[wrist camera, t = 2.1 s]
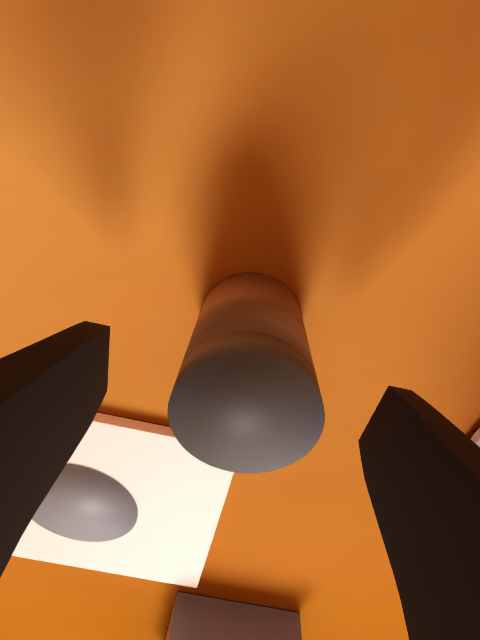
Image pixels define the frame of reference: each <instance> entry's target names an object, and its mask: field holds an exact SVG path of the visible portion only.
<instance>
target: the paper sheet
mask: <svg viewBox="0 0 480 640" xmlns="http://www.w3.org/2000/svg"><path fill="white" fill-rule="evenodd" d="M233 473H234V472H229V471H225V470H221V469H218V468H215V467H212V466H210V465H208V464H206V463H204V462H202V461H200V460H198V459H197V458H195V457H194V456H192V455H191V454H190V453H189V452H187V451H186V450H185V449H184V448H183V447H182V446H181V444H180V443H179V442H178V441H177V439H176V437H175V436H174V434H173V432H172V430H171V428H170V427H166V426H161V425H156V424H151V423H147V422H142V421H137V420H132V419H127V418H122V417H117V416H112V415H107V414H102V413H96V415H95V418H94V420H93V422H92V424H91V426H90V427H89V429H88V431H87V432H86V434H85V435H84V437H83V439H82V440H81V442H80V443H79V445H78V447H77V448H76V450H75V451H74V453H73V455H72V456H71V458H70V459H69V461H68V462H67V464H66V466H65V467H64V469H63V470H62V472H61V473H60V475H59V477H58V478H57V480H56V481H55V483H54V484H53V486H52V488H51V489H50V491H49V492H48V494H47V495H46V497H45V499H44V500H43V502H42V503H41V505H40V506H39V508H38V510H37V511H36V513H35V514H34V516H33V518H32V519H31V521H30V523H29V525H28V526H27V528H26V530H25V531H24V533H23V535H22V537H21V539H20V541H19V542H18V544H17V546H16V548H15V550H14V552H13V554H12V556H17V557H23V558H29V559H34V560H40V561H46V562H51V563H57V564H63V565H68V566H74V567H80V568H86V569H91V570H97V571H103V572H108V573H114V574H120V575H125V576H131V577H137V578H142V579H148V580H154V581H160V582H165V583H171V584H177V585H182V586H188V587H194V588H197V586H198V583H199V580H200V576H201V573H202V570H203V567H204V564H205V561H206V558H207V555H208V551H209V548H210V545H211V542H212V539H213V536H214V533H215V529H216V526H217V523H218V520H219V517H220V514H221V511H222V508H223V504H224V501H225V498H226V495H227V492H228V489H229V486H230V483H231V479H232V476H233Z"/></svg>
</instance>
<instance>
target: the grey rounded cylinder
mask: <svg viewBox="0 0 480 640" xmlns="http://www.w3.org/2000/svg"><path fill="white" fill-rule="evenodd" d="M168 420H169V424H170V428H171V430H172V432H173V434H174V436H175V437H176V439H177V441H178V442H179V443H180V444H181V446H182V447H183V448H184V449H185V450H186V451H187V452H189V453H190V454H191V455H192V456H194V457H195V458H197V459H198V460H200V461H202V462H204V463H206V464H208V465H210V466H212V467H215V468H218V469H221V470H225V471H229V472H236V473H263V472H269V471H274V470H277V469H280V468H283V467H286V466H288V465H290V464H292V463H294V462H296V461H298V460H299V459H301V458H302V457H303V456H305V455H306V454H307V453H308V452H309V451H310V450H311V449H312V448H313V447H314V445H315V444H316V443H317V441H318V439H319V438H320V436H321V433H322V431H323V427H324V422H325V412H324V406H323V402H322V398H321V393H320V389H319V385H318V381H317V377H316V373H315V368H314V364H313V360H312V356H311V352H310V348H309V344H308V339H307V335H306V331H305V327H304V323H303V319H302V315H301V310H300V307H299V304H298V301H297V299H296V297H295V295H294V294H293V293H292V291H291V290H290V289H289V288H288V287H287V286H286V285H285V284H283V283H282V282H281V281H279V280H277V279H276V278H273V277H271V276H268V275H265V274H261V273H250V272H249V273H240V274H235V275H233V276H230V277H228V278H226V279H224V280H222V281H221V282H219V283H218V284H216V285H215V286H214V287H213V288H212V289H211V291H210V292H209V293H208V295H207V296H206V298H205V300H204V303H203V305H202V308H201V311H200V314H199V317H198V320H197V322H196V325H195V328H194V331H193V334H192V337H191V339H190V342H189V345H188V348H187V351H186V354H185V356H184V359H183V362H182V365H181V368H180V370H179V373H178V376H177V379H176V382H175V385H174V387H173V390H172V393H171V396H170V400H169V404H168Z"/></svg>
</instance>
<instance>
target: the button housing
mask: <svg viewBox="0 0 480 640" xmlns="http://www.w3.org/2000/svg"><path fill="white" fill-rule="evenodd" d="M165 640H302V636H301V624H300V613H297V612H291V611H285V610H280V609H274V608H268V607H263V606H257V605H251V604H245V603H240V602H234V601H228V600H222V599H217V598H211V597H205V596H199V595H194V594H188V593H182V592H177V596H176V600H175V603H174V607H173V611H172V614H171V618H170V622H169V626H168V629H167V633H166V637H165Z"/></svg>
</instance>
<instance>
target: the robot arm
mask: <svg viewBox="0 0 480 640" xmlns="http://www.w3.org/2000/svg"><path fill="white" fill-rule="evenodd" d="M109 339H110V326H106V325H101V324H97V323H92V322H87V321H84V322H82V323H79V324H76V325H74V326H72V327H69V328H67V329H65V330H63V331H61V332H58V333H56V334H54V335H52V336H50V337H47V338H45V339H43V340H41V341H39V342H36V343H34V344H32V345H30V346H28V347H25V348H23V349H21V350H19V351H16V352H14V353H12V354H10V355H7V356H5V357H3V358H0V577H1V575H2V573H3V571H4V569H5V567H6V565H7V564H8V562H9V560H10V558H11V556H12V554H13V552H14V550H15V548H16V546H17V544H18V542H19V541H20V539H21V537H22V535H23V533H24V531H25V530H26V528H27V526H28V525H29V523H30V521H31V519H32V518H33V516H34V514H35V513H36V511H37V510H38V508H39V506H40V505H41V503H42V502H43V500H44V499H45V497H46V495H47V494H48V492H49V491H50V489H51V488H52V486H53V484H54V483H55V481H56V480H57V478H58V477H59V475H60V473H61V472H62V470H63V469H64V467H65V466H66V464H67V462H68V461H69V459H70V458H71V456H72V455H73V453H74V451H75V450H76V448H77V447H78V445H79V443H80V442H81V440H82V439H83V437H84V435H85V434H86V432H87V431H88V429H89V427H90V426H91V424H92V422H93V420H94V418H95V415H96V413H97V411H98V409H99V407H100V405H101V403H102V401H103V398H104V396H105V394H106V392H107V383H108V361H109ZM359 448H360V455H361V461H362V467H363V472H364V478H365V482H366V485H367V489H368V492H369V495H370V499H371V502H372V505H373V509H374V512H375V515H376V519H377V522H378V525H379V528H380V531H381V535H382V538H383V541H384V544H385V548H386V551H387V554H388V557H389V561H390V564H391V567H392V570H393V574H394V577H395V581H396V584H397V588H398V592H399V595H400V599H401V603H402V608H403V613H404V617H405V622H406V626H407V631H408V636H409V640H480V428H479V429H478V430H477V431H476V432H475V434H474V435H473V436H472V438H471V439H470V438H469V437H467V436H466V435H465V434H464V433H463V432H462V431H460V430H459V429H458V428H457V427H456V426H455V425H454V424H452V423H451V422H450V421H449V420H448V419H447V418H445V417H444V416H443V415H442V414H441V413H440V412H438V411H437V410H436V409H435V408H434V407H432V406H431V405H430V404H429V403H427V402H426V401H425V400H424V399H422V398H421V397H420V396H418V395H417V394H416V393H414V392H413V391H411V390H407V389H403V388H398V387H393V386H388V388H387V390H386V392H385V393H384V395H383V397H382V399H381V401H380V402H379V404H378V406H377V408H376V410H375V412H374V413H373V415H372V417H371V419H370V421H369V423H368V424H367V426H366V428H365V430H364V432H363V433H362V435H361V437H360V439H359Z"/></svg>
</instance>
